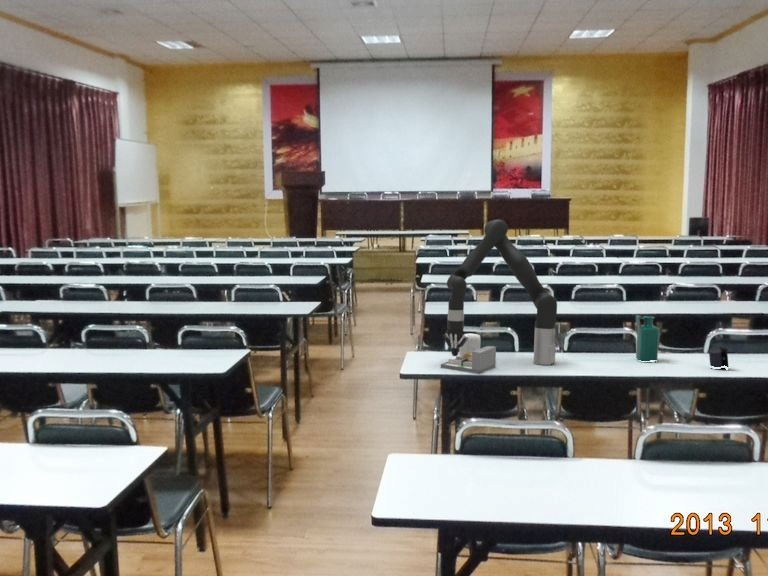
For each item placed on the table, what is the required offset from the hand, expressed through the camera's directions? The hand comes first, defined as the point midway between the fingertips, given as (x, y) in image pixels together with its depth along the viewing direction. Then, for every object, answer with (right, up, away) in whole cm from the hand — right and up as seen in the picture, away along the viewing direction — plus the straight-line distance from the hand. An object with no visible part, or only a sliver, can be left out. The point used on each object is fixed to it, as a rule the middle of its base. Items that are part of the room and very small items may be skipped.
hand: (454, 355), depth 330 cm
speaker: (+121, -6, -2) cm, 122 cm away
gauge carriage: (+5, -4, -6) cm, 9 cm away
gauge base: (+6, -5, -3) cm, 8 cm away
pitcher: (+94, -4, +14) cm, 95 cm away
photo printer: (+9, -3, +15) cm, 18 cm away
